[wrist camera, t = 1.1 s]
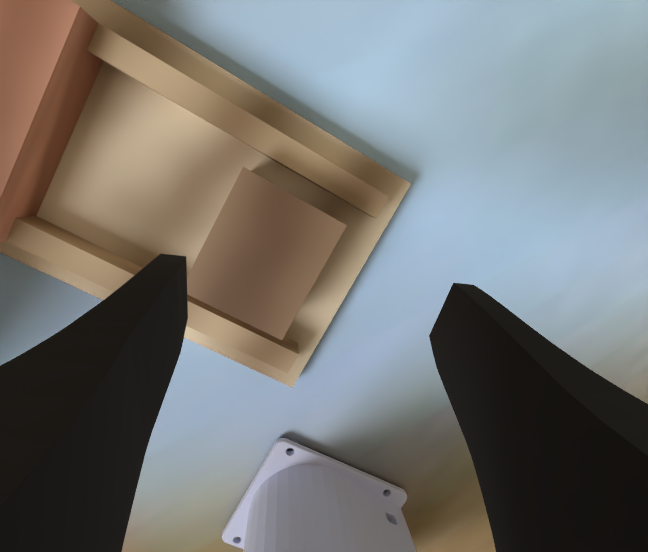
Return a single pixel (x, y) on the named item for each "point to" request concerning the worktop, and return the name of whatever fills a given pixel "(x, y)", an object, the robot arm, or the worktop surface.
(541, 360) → the robot arm
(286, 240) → the block
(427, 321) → the worktop surface
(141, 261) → the guide channel
